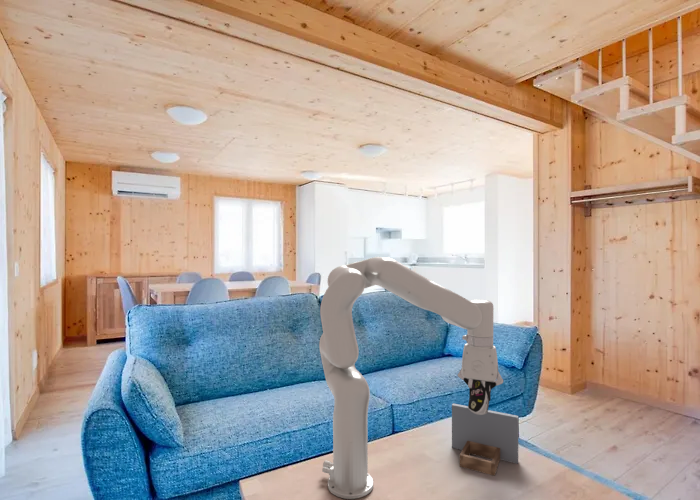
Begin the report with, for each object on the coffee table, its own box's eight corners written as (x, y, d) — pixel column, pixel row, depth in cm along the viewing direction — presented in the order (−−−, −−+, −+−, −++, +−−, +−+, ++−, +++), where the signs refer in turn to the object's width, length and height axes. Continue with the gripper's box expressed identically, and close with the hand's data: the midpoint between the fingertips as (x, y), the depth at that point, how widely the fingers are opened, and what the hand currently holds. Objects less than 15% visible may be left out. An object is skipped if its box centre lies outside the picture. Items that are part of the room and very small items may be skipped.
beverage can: (489, 417, 118) (495, 378, 117) (469, 414, 119) (475, 375, 118) (484, 408, 124) (490, 371, 123) (466, 405, 124) (471, 368, 123)
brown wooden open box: (459, 466, 119) (459, 454, 119) (467, 451, 128) (467, 440, 128) (494, 475, 114) (494, 463, 114) (500, 459, 123) (500, 448, 123)
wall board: (451, 447, 130) (451, 405, 130) (453, 445, 132) (453, 403, 131) (517, 463, 120) (517, 417, 120) (518, 461, 122) (518, 415, 122)
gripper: (449, 340, 121) (449, 400, 122) (507, 347, 113) (506, 411, 113) (456, 335, 128) (455, 392, 128) (510, 341, 120) (510, 402, 120)
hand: (479, 400), depth 121 cm, fingers closed on beverage can, 3 cm apart
